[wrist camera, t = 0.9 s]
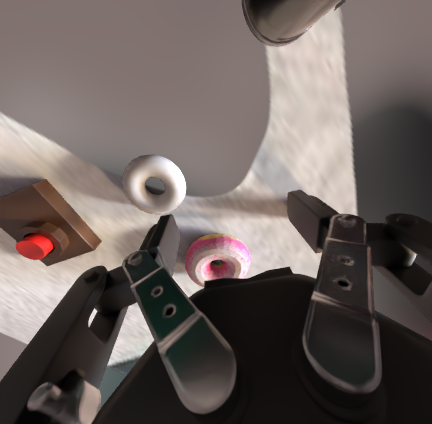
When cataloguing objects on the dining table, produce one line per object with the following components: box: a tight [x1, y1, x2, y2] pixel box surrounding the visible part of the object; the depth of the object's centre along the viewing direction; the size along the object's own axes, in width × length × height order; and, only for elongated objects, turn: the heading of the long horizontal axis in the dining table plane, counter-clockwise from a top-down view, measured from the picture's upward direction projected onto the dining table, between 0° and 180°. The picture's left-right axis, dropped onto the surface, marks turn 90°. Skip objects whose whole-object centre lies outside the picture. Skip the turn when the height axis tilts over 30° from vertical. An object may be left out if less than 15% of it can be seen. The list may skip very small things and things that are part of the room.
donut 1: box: [122, 155, 186, 214], centre depth 28 cm, size 10×4×10 cm
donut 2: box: [185, 234, 250, 287], centre depth 36 cm, size 14×13×5 cm
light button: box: [16, 233, 54, 260], centre depth 29 cm, size 4×4×2 cm
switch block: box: [0, 179, 102, 266], centre depth 31 cm, size 14×11×4 cm
